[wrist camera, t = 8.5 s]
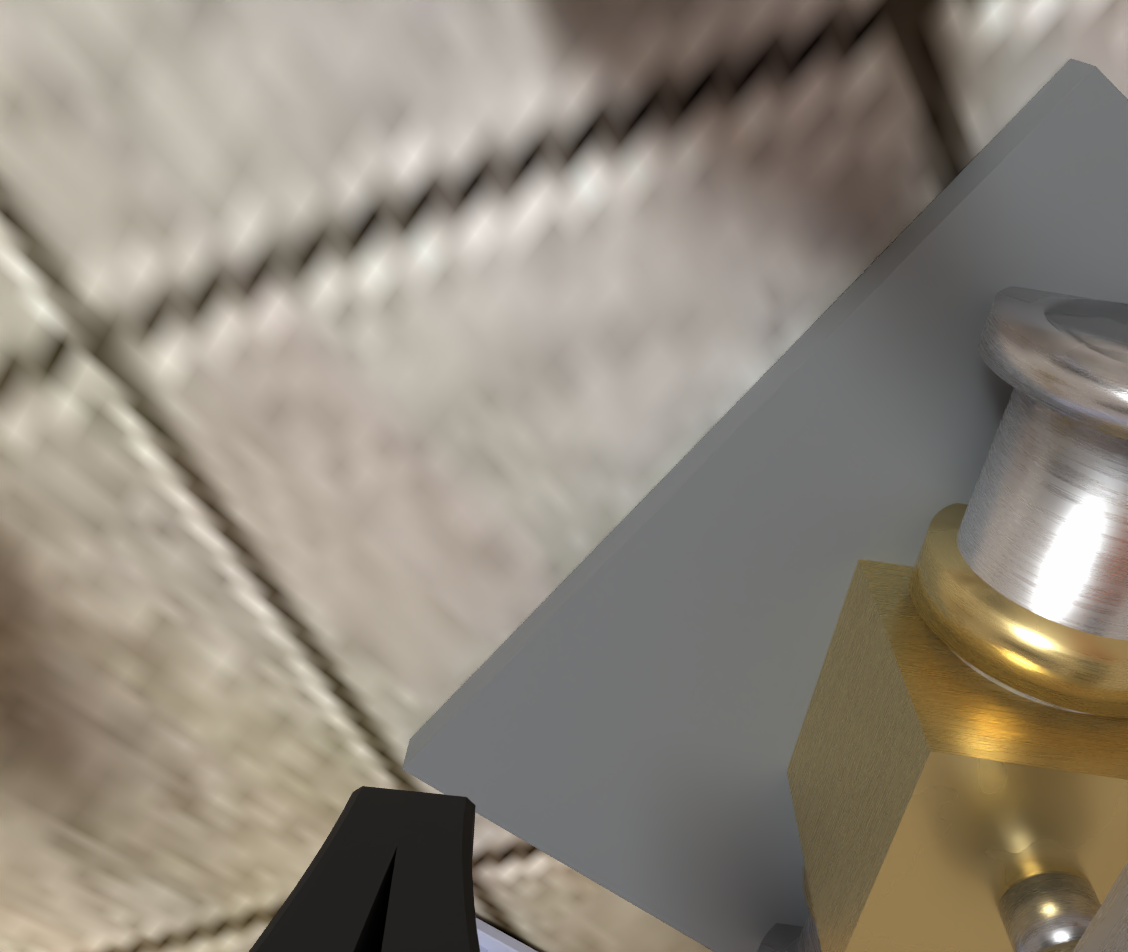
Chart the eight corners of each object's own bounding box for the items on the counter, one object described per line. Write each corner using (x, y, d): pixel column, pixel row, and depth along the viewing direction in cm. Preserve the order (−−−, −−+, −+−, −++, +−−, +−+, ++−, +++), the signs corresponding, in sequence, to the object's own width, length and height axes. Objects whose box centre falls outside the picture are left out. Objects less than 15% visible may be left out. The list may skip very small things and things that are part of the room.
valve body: (946, 941, 27) (1053, 1276, 21) (727, 911, 27) (762, 1238, 20) (1260, 312, 19) (1622, 533, 12) (941, 263, 18) (1125, 458, 12)
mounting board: (867, 1012, 29) (874, 1045, 28) (409, 739, 25) (402, 769, 24) (1573, 570, 21) (1614, 598, 20) (1071, 58, 17) (1095, 66, 16)
